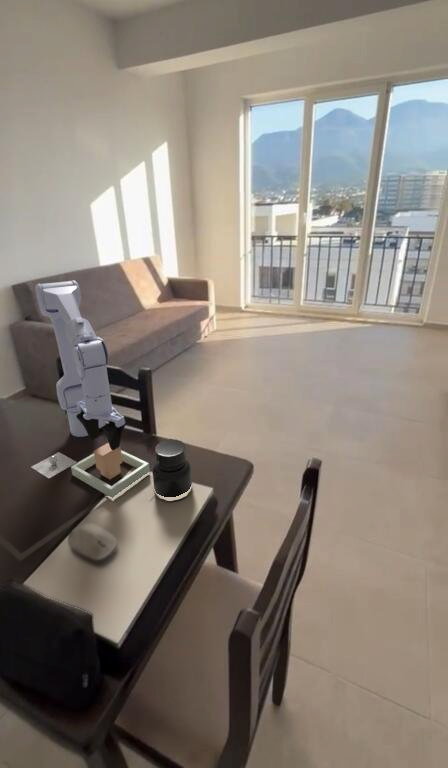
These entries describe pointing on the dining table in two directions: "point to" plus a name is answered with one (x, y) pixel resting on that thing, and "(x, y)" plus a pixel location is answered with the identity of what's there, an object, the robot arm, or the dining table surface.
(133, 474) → the parts bin
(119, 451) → the light orange block
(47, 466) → the stud plate
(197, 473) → the dining table surface
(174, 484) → the ink bottle
